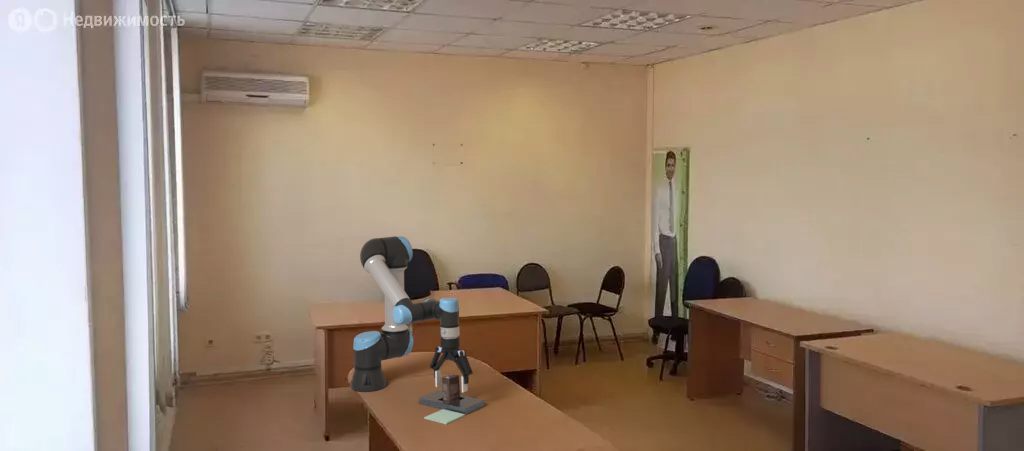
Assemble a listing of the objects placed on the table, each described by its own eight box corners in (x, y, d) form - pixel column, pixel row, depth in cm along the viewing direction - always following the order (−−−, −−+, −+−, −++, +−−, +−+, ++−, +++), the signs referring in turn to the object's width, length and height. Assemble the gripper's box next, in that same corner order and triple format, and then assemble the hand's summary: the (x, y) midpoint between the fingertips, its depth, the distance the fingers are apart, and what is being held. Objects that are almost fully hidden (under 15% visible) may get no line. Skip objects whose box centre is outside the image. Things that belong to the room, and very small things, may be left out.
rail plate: (419, 403, 302) (418, 397, 302) (438, 395, 312) (438, 389, 312) (465, 414, 289) (465, 408, 288) (484, 406, 299) (484, 400, 298)
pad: (424, 418, 285) (424, 417, 285) (443, 410, 294) (442, 409, 294) (446, 424, 279) (446, 422, 279) (464, 415, 288) (464, 414, 288)
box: (452, 402, 304) (452, 373, 303) (460, 404, 301) (460, 375, 300) (442, 405, 300) (441, 376, 299) (450, 408, 297) (449, 378, 296)
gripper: (420, 335, 302) (421, 386, 304) (468, 342, 288) (470, 396, 289) (432, 331, 308) (433, 381, 310) (480, 338, 294) (481, 391, 296)
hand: (451, 389), depth 300 cm, fingers open, 13 cm apart
